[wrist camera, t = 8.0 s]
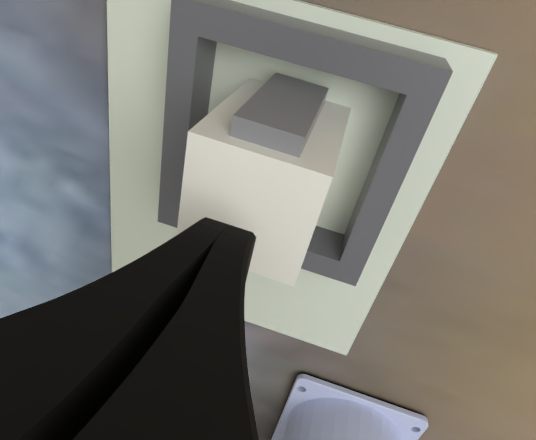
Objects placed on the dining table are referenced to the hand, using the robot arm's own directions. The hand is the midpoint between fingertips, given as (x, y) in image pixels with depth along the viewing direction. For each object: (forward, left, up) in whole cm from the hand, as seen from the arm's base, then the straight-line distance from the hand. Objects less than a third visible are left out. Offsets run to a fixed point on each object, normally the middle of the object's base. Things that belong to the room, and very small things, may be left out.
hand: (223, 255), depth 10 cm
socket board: (-3, +1, -8) cm, 9 cm away
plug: (0, 0, -8) cm, 8 cm away
